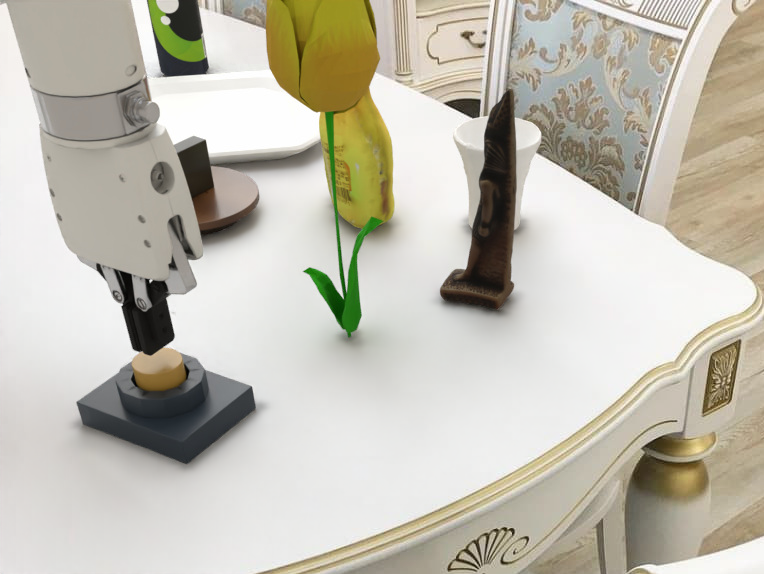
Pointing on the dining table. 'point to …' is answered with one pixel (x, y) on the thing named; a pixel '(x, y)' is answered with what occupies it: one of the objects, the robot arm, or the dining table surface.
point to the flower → (327, 96)
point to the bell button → (159, 370)
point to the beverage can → (178, 37)
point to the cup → (472, 155)
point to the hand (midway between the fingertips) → (154, 344)
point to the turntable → (215, 186)
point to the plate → (235, 115)
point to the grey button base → (168, 410)
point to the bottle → (360, 163)
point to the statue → (491, 218)
